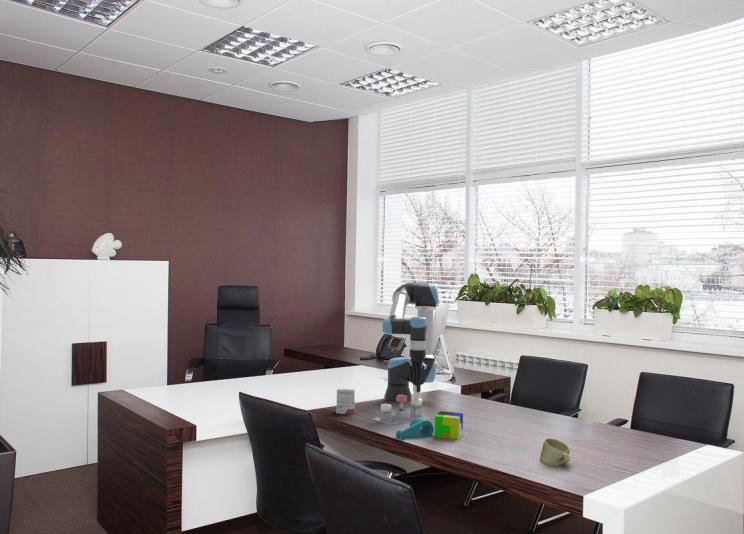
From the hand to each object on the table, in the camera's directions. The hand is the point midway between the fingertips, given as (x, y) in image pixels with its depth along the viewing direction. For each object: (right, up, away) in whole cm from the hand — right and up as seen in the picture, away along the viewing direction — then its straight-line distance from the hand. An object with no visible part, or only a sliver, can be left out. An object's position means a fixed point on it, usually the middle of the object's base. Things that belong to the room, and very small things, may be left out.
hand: (416, 398), depth 297 cm
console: (-8, -9, -5) cm, 13 cm away
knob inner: (0, -7, 0) cm, 7 cm away
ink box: (-34, -9, +8) cm, 36 cm away
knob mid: (-7, -4, -5) cm, 10 cm away
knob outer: (-15, -8, -10) cm, 20 cm away
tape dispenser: (-4, -10, -34) cm, 36 cm away
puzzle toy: (+11, -10, -34) cm, 37 cm away
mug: (+42, -10, -71) cm, 83 cm away
